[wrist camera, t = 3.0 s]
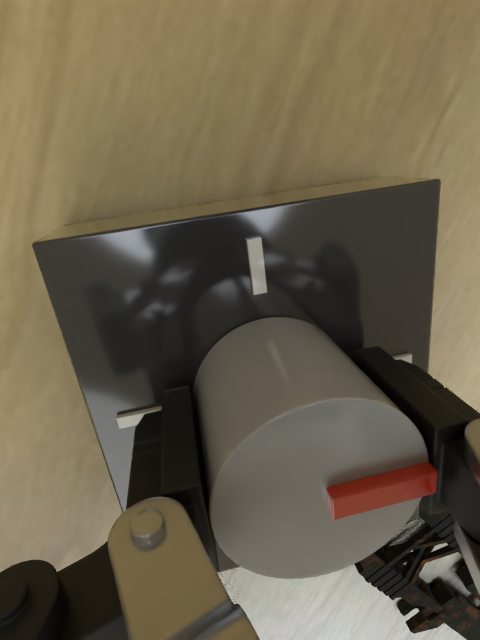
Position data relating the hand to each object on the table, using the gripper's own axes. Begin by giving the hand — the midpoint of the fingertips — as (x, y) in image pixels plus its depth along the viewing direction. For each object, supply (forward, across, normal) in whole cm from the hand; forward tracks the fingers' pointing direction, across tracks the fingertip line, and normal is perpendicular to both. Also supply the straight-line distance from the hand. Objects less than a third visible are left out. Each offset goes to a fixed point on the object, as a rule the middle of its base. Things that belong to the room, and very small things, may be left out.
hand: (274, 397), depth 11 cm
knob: (0, 0, 0) cm, 0 cm away
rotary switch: (+4, 0, +1) cm, 4 cm away
